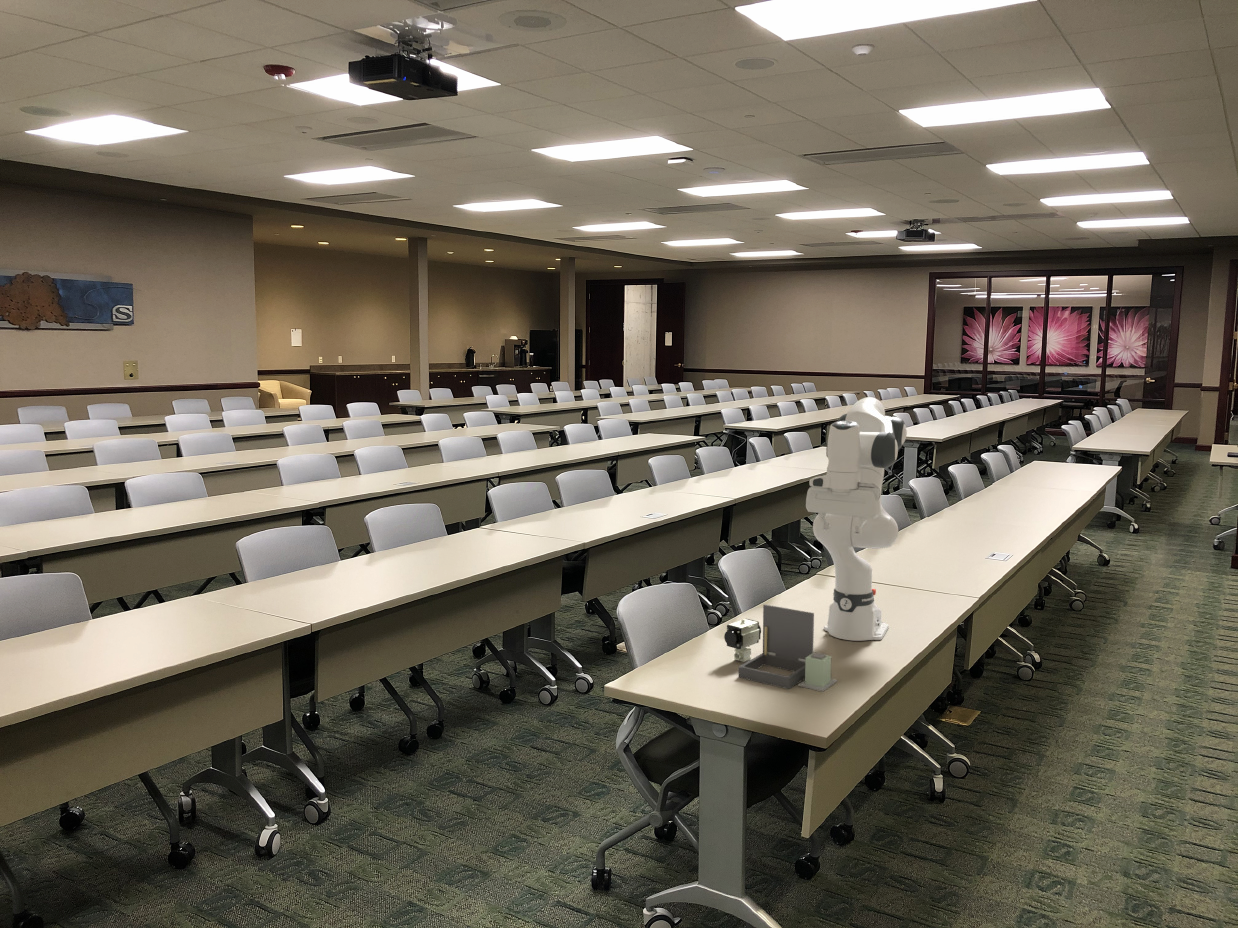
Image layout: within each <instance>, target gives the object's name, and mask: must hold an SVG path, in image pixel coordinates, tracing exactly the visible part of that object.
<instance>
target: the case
mask: <svg viewBox="0 0 1238 928" xmlns="http://www.w3.org/2000/svg"><path fill="white" fill-rule="evenodd" d="M762 605H763V606H762V608H763V609H762V615H763V616H762V652H761V653H760V654H759V655H757V656H755V657H753V658H751V659H750V660H748V661H746V662H743V664H741V665H739V666H738V678H740V679H743V680H749V681H752V682H758V683H762V684H765V685H770V686H773V687H777V688H783V689H787V690H790V689H791V688H793V687H794V686H796V685H797V684H800V683H801V682H803V681H804V680H805V663H806V657H807V656H809V655H811V654H812V653H814V637H815V634H814V633H815V632H814V630H815V629H814V627H815V612H810V611H805V610H804V611H803V610H798V609H793V608H787V607H782V606H776V605H770V604H769V605H768V604H762ZM763 666H767V667H772V668H777V669H781V670H787V671H791V672H792V673H790V674H789V675H783V674H778V673H774V672H771V671H765V670H761V669H760V668H761V667H763Z"/></svg>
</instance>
